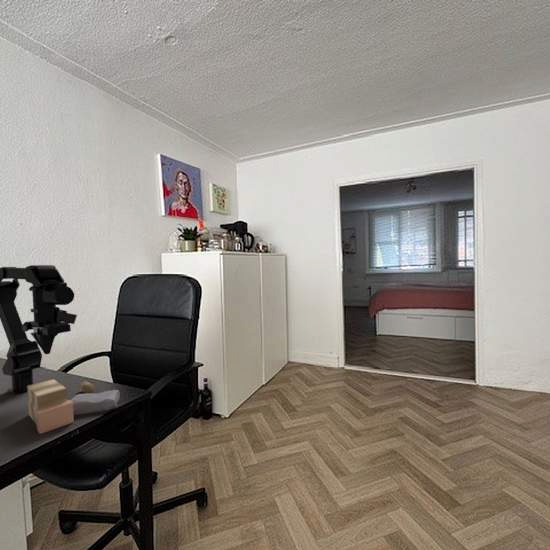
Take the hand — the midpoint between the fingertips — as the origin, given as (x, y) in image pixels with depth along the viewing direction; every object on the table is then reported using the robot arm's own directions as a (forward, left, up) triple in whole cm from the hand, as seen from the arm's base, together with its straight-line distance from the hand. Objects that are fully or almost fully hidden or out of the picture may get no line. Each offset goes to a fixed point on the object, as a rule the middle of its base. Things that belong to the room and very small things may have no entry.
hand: (47, 353), depth 96 cm
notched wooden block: (+18, -8, -13) cm, 23 cm away
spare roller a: (+9, +6, -13) cm, 17 cm away
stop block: (+25, -9, -13) cm, 30 cm away
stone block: (+22, +3, -14) cm, 26 cm away
